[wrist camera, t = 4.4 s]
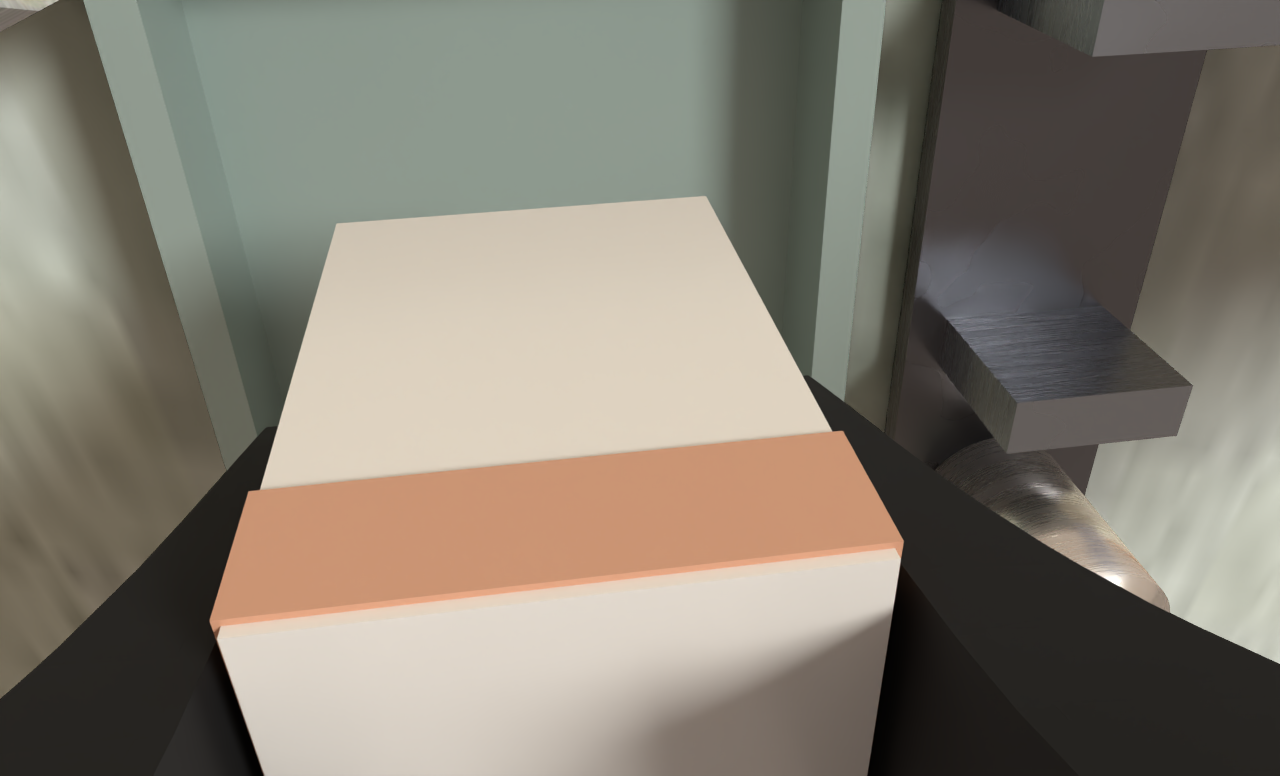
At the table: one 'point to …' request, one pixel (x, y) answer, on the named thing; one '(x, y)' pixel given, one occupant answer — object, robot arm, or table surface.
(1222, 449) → the table surface
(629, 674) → the beige and orange block
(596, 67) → the tray
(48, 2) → the caliper
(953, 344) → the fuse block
